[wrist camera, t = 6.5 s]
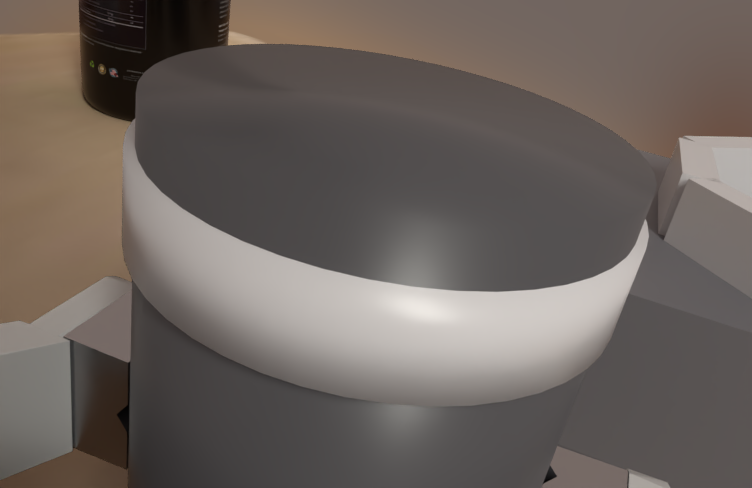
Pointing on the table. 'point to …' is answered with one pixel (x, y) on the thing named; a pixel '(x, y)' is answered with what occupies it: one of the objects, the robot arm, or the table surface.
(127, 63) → the supplement bottle
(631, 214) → the lens
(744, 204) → the camera body block
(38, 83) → the table surface
